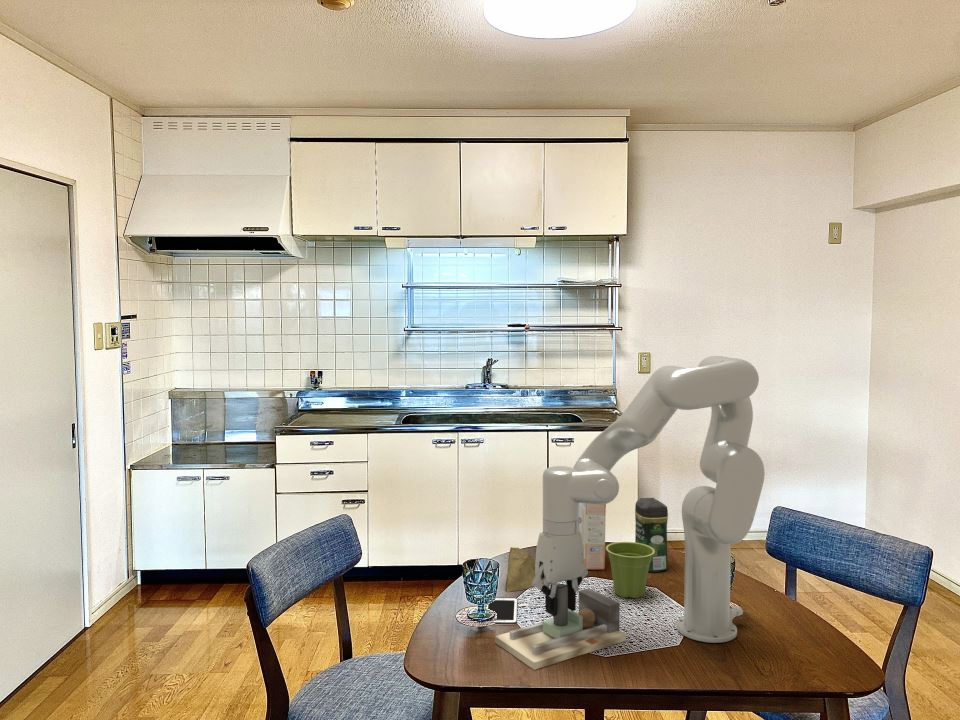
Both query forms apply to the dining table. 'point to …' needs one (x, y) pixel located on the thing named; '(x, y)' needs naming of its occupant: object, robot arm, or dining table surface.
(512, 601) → the cell phone
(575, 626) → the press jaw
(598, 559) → the cracker box
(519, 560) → the rock
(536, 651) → the press frame
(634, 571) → the plant pot
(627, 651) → the dining table surface
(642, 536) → the coffee jar
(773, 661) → the dining table surface
